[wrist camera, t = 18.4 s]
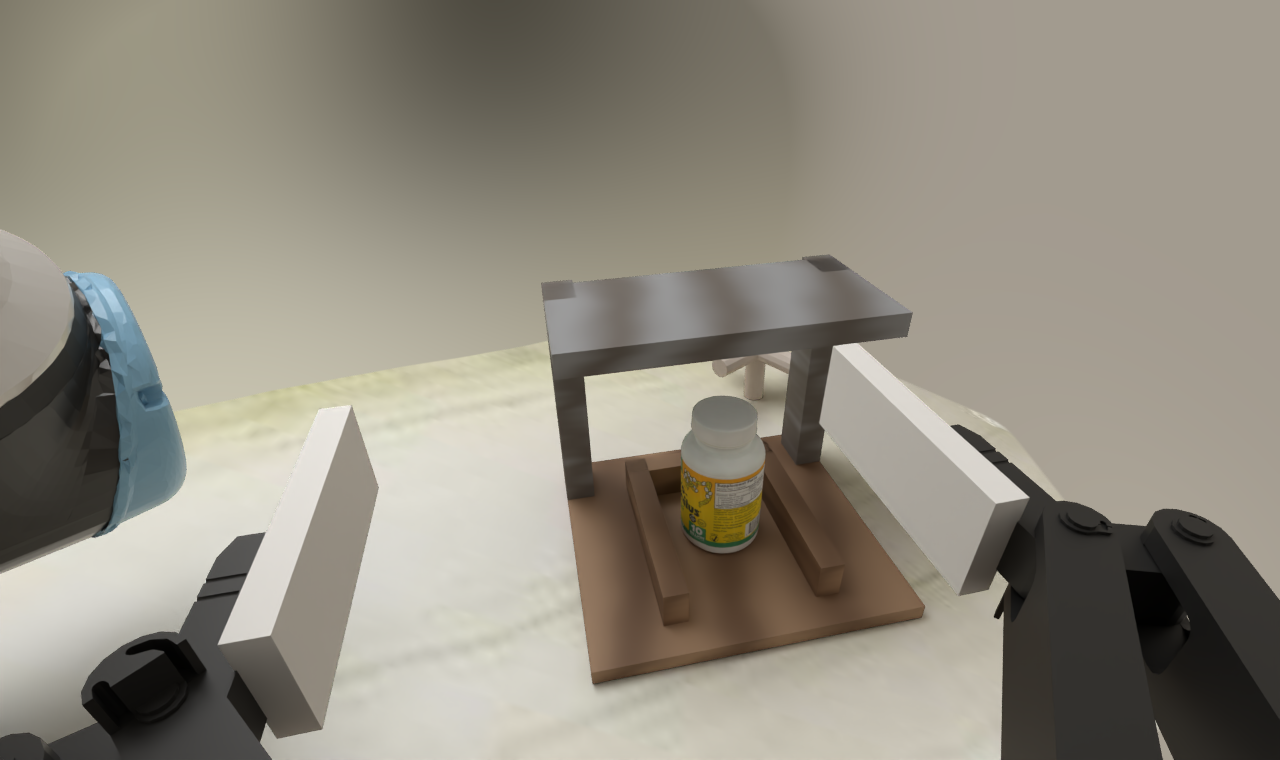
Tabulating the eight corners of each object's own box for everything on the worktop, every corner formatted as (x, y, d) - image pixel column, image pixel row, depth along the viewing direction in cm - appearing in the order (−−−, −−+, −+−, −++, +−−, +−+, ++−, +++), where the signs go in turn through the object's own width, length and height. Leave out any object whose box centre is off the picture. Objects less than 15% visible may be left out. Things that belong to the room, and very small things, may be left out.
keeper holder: (592, 683, 33) (563, 435, 24) (564, 476, 48) (540, 277, 39) (921, 617, 36) (1001, 374, 27) (797, 441, 51) (822, 249, 42)
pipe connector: (759, 438, 52) (768, 335, 46) (680, 393, 58) (680, 298, 53) (827, 396, 57) (842, 299, 52) (748, 359, 64) (754, 270, 58)
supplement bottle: (769, 550, 39) (783, 432, 34) (690, 562, 39) (692, 443, 34) (743, 495, 44) (752, 385, 39) (672, 505, 43) (673, 394, 38)
